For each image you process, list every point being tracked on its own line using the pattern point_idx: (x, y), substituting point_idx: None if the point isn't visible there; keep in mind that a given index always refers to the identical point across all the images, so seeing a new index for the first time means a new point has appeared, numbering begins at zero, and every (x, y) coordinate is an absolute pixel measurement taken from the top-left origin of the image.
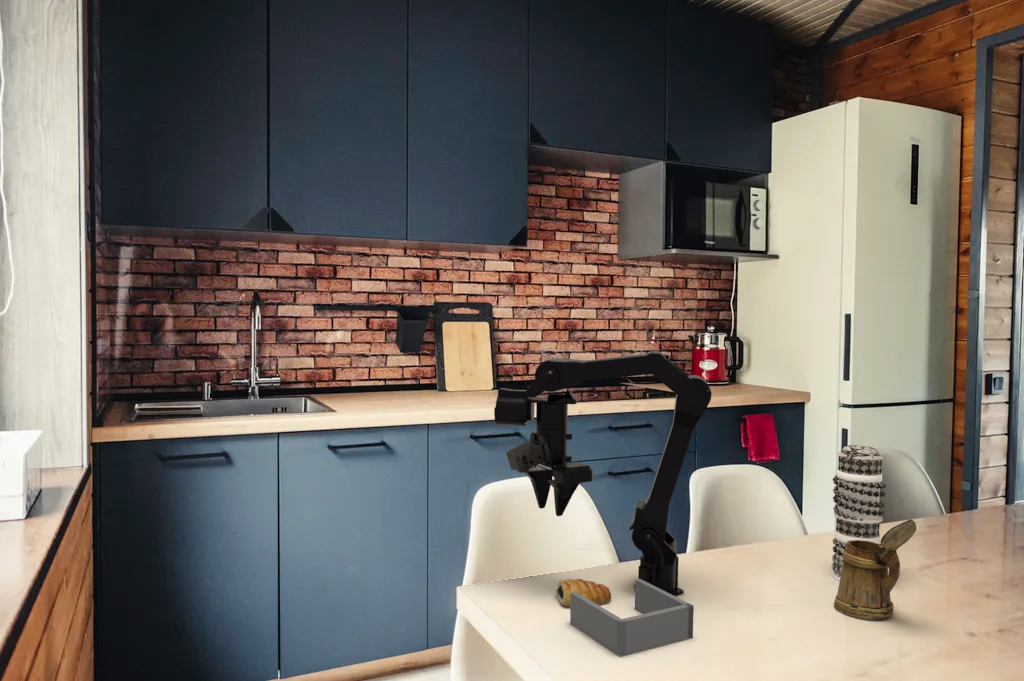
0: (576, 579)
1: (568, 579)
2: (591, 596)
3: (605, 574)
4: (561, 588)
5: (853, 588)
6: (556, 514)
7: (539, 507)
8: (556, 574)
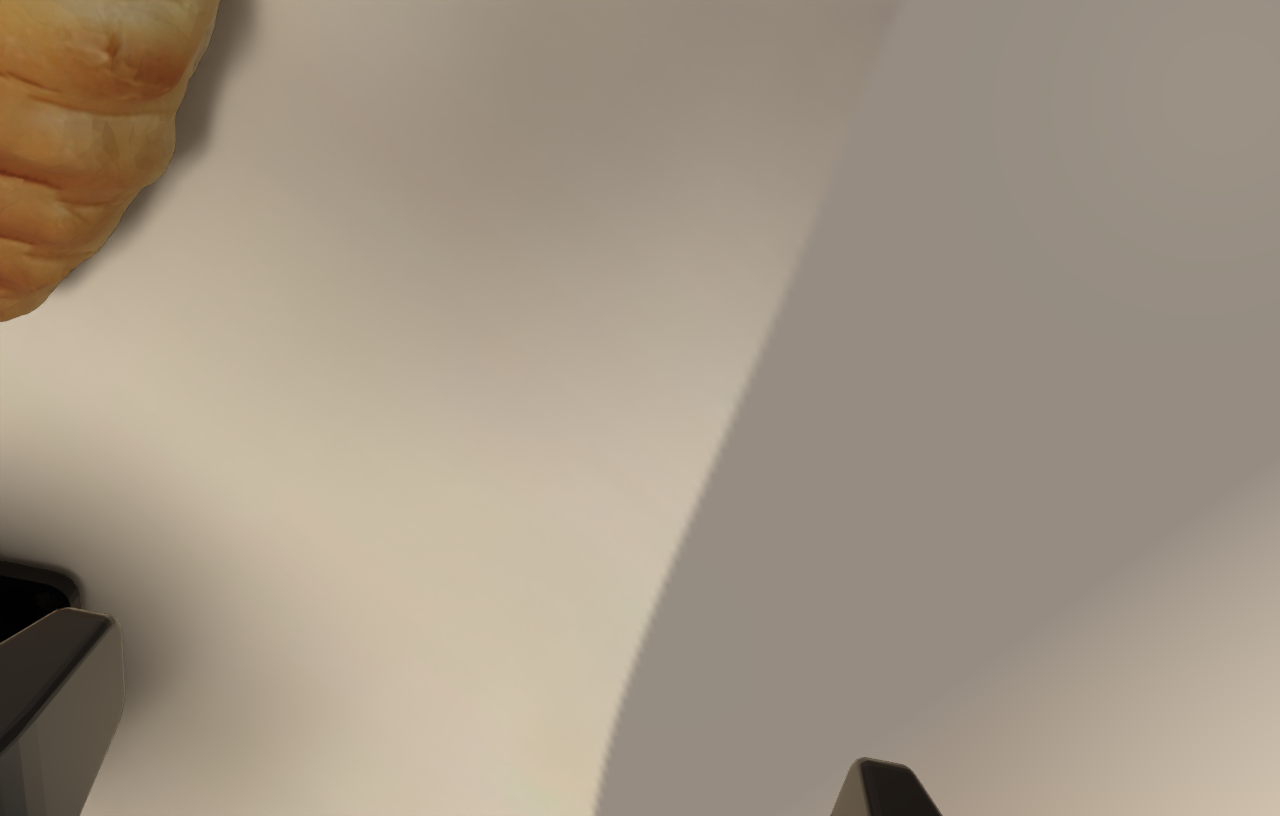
0: (58, 133)
1: (59, 34)
2: None
3: (457, 636)
4: None
5: None
6: (78, 626)
7: (879, 764)
8: (735, 347)
